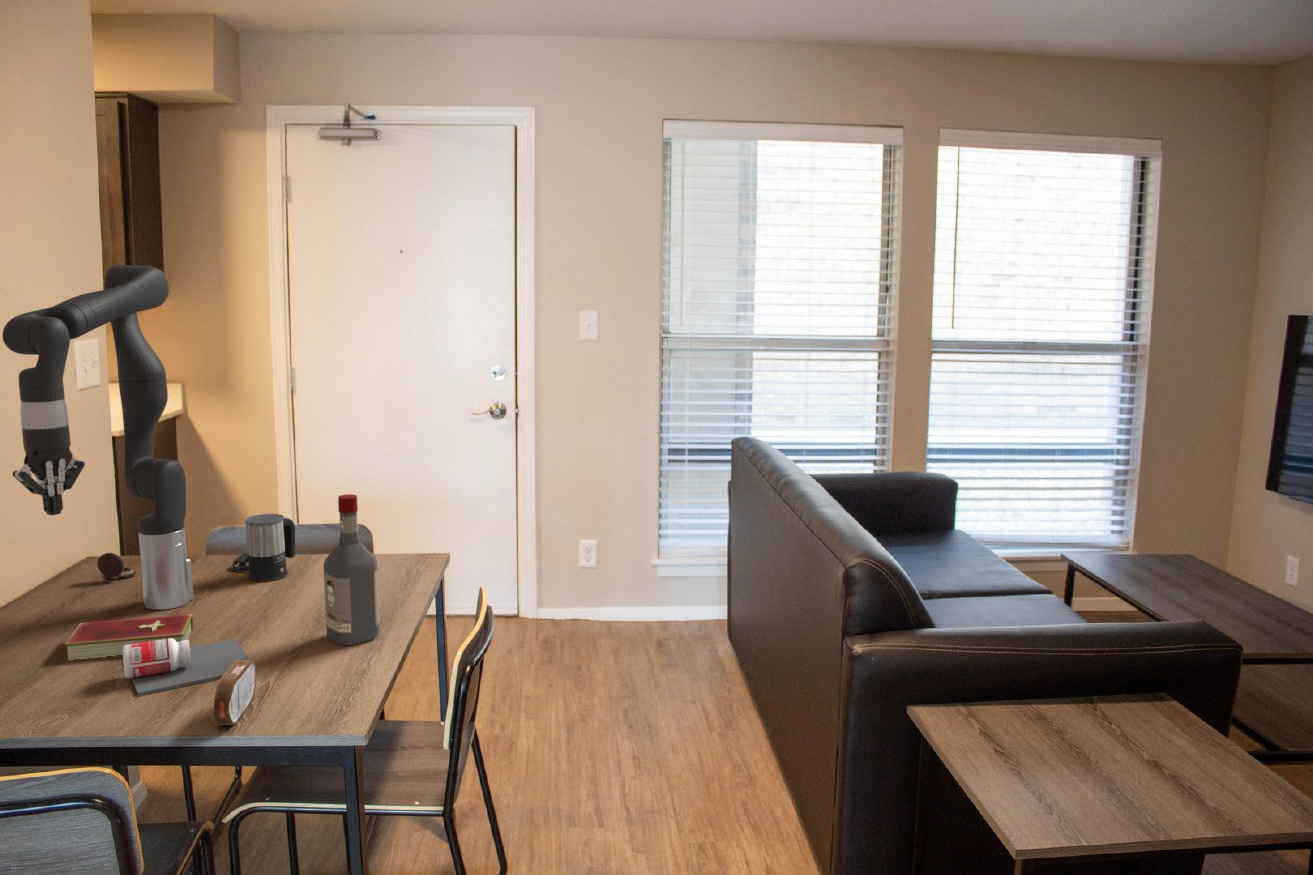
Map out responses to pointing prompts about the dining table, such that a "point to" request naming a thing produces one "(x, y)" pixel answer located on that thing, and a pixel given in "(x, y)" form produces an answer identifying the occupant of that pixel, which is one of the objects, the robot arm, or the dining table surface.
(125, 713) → the dining table surface
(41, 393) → the robot arm
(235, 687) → the tin
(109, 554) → the compass
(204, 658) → the mat
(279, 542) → the milk frother
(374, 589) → the liquor
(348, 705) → the dining table surface
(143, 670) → the pill bottle
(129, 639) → the hardcover book
